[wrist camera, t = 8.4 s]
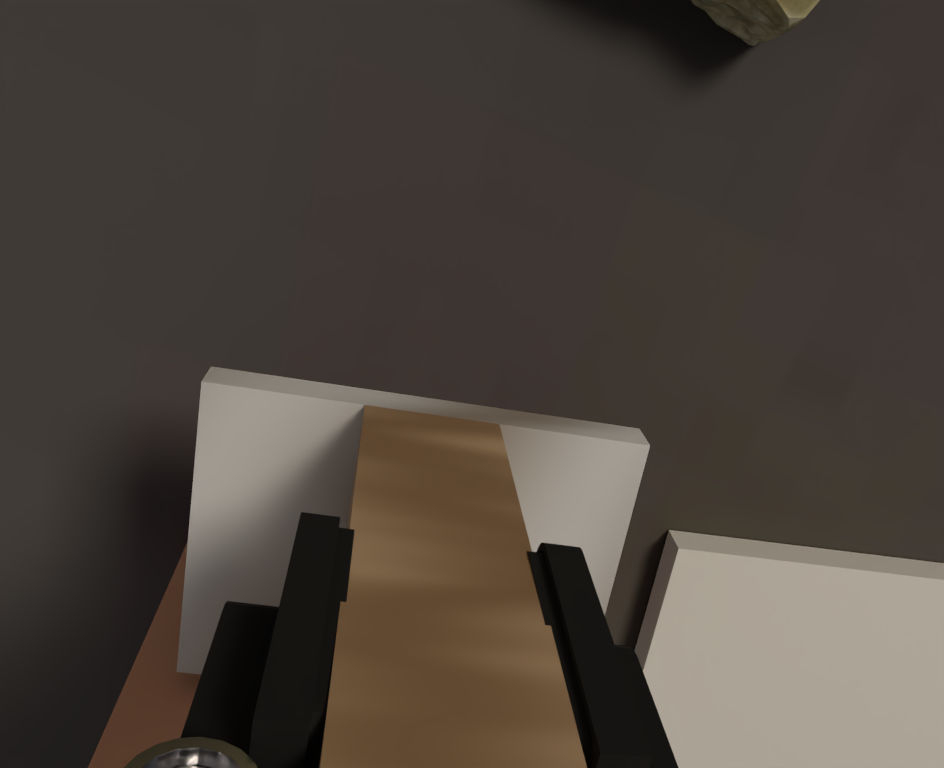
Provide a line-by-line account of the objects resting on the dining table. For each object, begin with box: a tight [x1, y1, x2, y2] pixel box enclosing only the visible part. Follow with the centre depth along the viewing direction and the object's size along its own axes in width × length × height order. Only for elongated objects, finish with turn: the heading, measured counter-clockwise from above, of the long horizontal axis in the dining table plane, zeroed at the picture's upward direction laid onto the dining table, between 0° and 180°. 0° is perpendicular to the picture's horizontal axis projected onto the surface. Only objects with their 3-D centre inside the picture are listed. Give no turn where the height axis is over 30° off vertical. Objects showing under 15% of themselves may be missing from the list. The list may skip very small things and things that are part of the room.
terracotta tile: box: [88, 542, 201, 768], centre depth 21 cm, size 10×2×10 cm, turn 80°
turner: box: [176, 367, 650, 768], centre depth 12 cm, size 8×6×12 cm
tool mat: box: [635, 530, 944, 768], centre depth 28 cm, size 12×14×1 cm
